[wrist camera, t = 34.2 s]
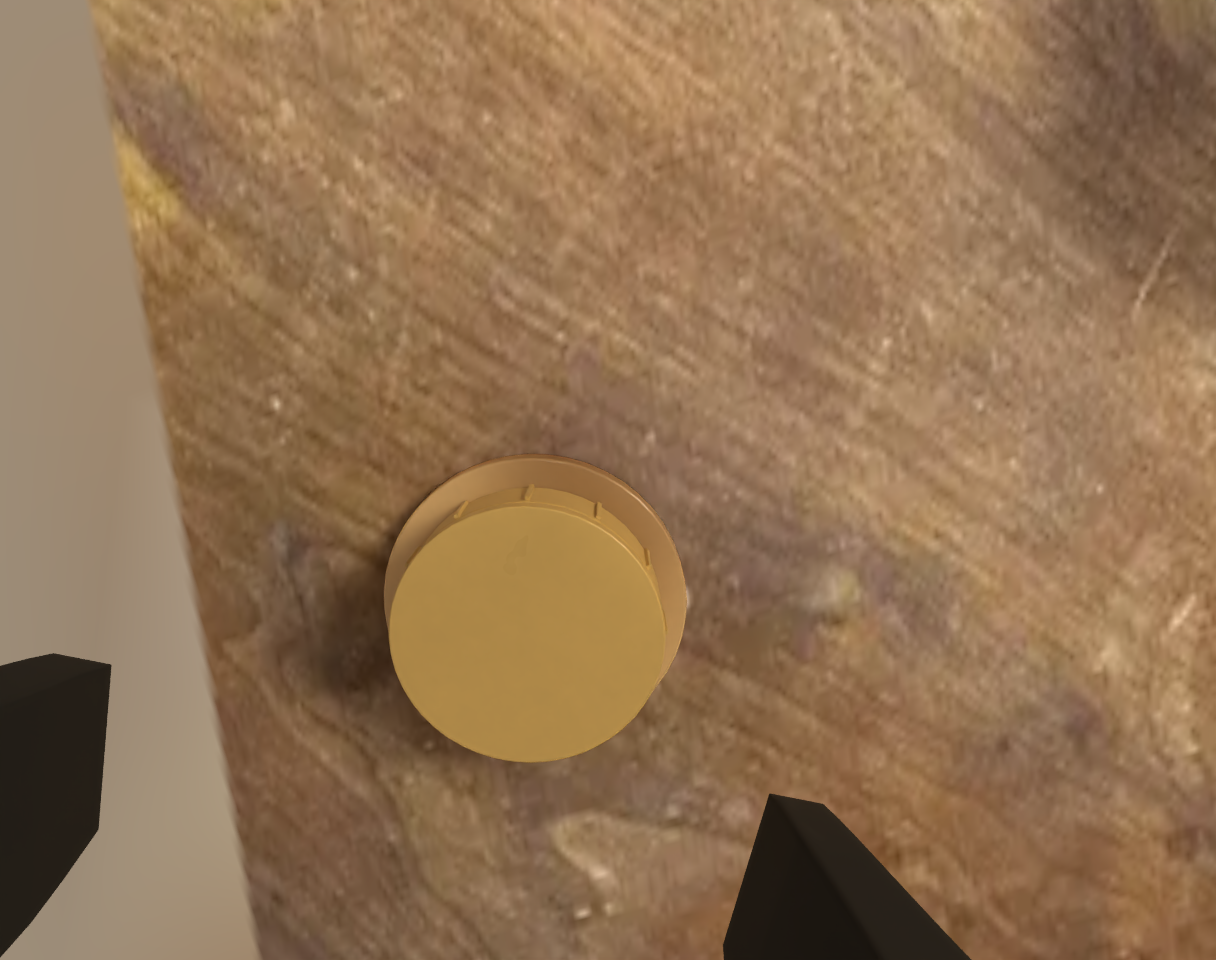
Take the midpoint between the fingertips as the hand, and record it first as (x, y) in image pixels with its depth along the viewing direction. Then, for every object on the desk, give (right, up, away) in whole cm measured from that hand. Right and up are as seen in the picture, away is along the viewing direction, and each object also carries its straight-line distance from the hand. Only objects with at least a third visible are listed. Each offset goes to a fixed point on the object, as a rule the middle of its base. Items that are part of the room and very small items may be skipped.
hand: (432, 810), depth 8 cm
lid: (0, 0, +8) cm, 8 cm away
